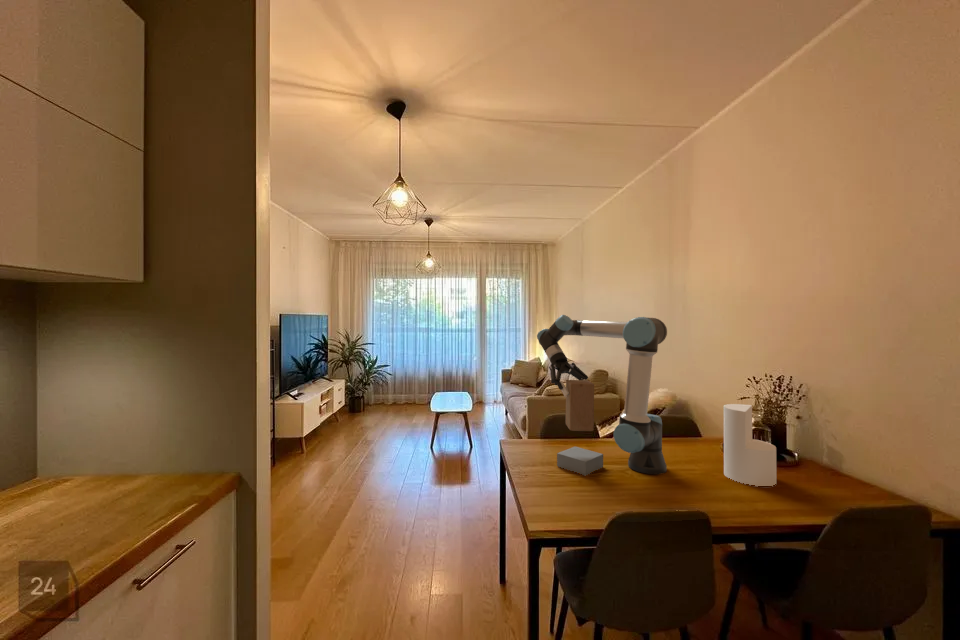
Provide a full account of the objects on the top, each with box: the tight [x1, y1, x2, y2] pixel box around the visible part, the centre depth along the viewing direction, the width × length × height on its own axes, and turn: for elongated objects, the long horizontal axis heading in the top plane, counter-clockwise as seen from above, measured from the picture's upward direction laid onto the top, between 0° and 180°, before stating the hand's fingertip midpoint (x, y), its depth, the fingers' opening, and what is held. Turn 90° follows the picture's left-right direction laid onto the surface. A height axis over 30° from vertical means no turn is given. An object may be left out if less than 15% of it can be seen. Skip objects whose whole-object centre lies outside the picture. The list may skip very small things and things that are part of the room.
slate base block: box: [556, 446, 604, 477], centre depth 163 cm, size 14×14×6 cm
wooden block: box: [565, 379, 595, 432], centre depth 163 cm, size 10×10×20 cm
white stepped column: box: [723, 403, 777, 487], centre depth 152 cm, size 17×17×28 cm
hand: (578, 394), depth 164 cm, fingers closed on wooden block, 12 cm apart
